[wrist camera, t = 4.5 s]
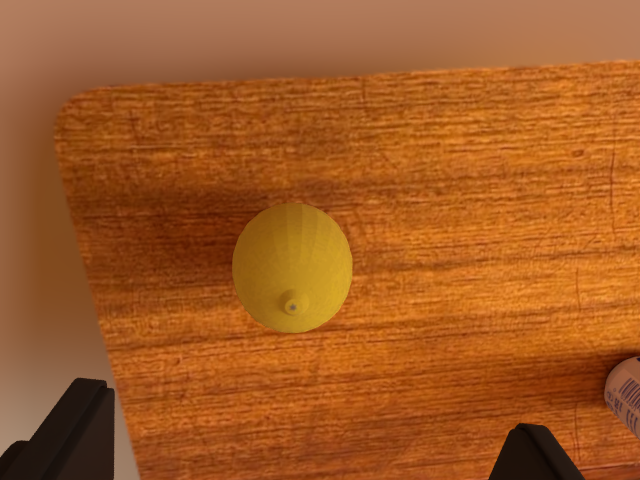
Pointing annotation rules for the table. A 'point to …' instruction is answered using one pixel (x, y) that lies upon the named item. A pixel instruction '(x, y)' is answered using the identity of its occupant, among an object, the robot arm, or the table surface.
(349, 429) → the table surface
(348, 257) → the lemon
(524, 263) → the table surface
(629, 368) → the beverage can
